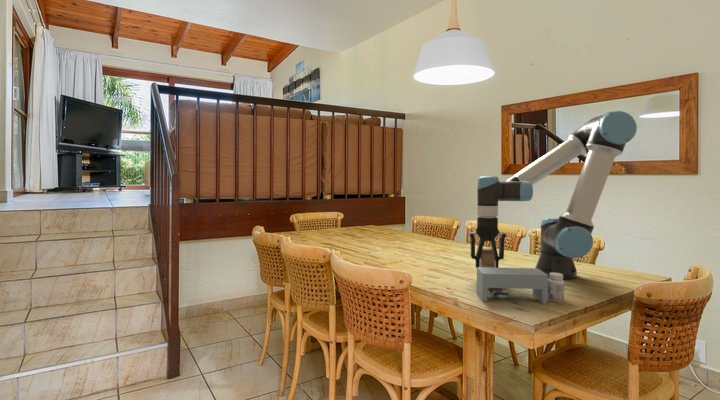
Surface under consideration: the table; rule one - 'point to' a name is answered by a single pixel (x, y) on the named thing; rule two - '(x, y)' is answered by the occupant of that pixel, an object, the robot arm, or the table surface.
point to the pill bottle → (556, 287)
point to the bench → (512, 280)
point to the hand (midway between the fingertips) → (486, 276)
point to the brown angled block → (488, 261)
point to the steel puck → (500, 294)
